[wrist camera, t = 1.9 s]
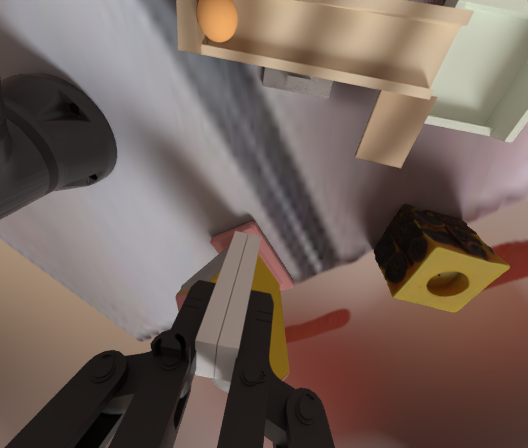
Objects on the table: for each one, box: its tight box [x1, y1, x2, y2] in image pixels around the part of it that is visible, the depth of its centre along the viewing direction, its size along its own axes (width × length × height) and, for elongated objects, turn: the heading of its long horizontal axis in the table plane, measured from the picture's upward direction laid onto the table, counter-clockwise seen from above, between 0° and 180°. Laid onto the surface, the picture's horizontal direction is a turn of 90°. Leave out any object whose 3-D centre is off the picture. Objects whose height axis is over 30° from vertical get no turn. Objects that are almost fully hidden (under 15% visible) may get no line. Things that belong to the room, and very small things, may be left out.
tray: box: [425, 0, 528, 143], centre depth 24 cm, size 11×11×5 cm
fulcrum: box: [263, 67, 333, 98], centre depth 23 cm, size 8×10×6 cm
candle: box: [374, 205, 510, 312], centre depth 34 cm, size 10×10×10 cm
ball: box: [197, 0, 238, 42], centre depth 21 cm, size 4×4×4 cm
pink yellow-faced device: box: [176, 221, 294, 393], centre depth 36 cm, size 22×9×22 cm, turn 29°
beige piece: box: [176, 0, 474, 168], centre depth 23 cm, size 25×13×4 cm, turn 83°
